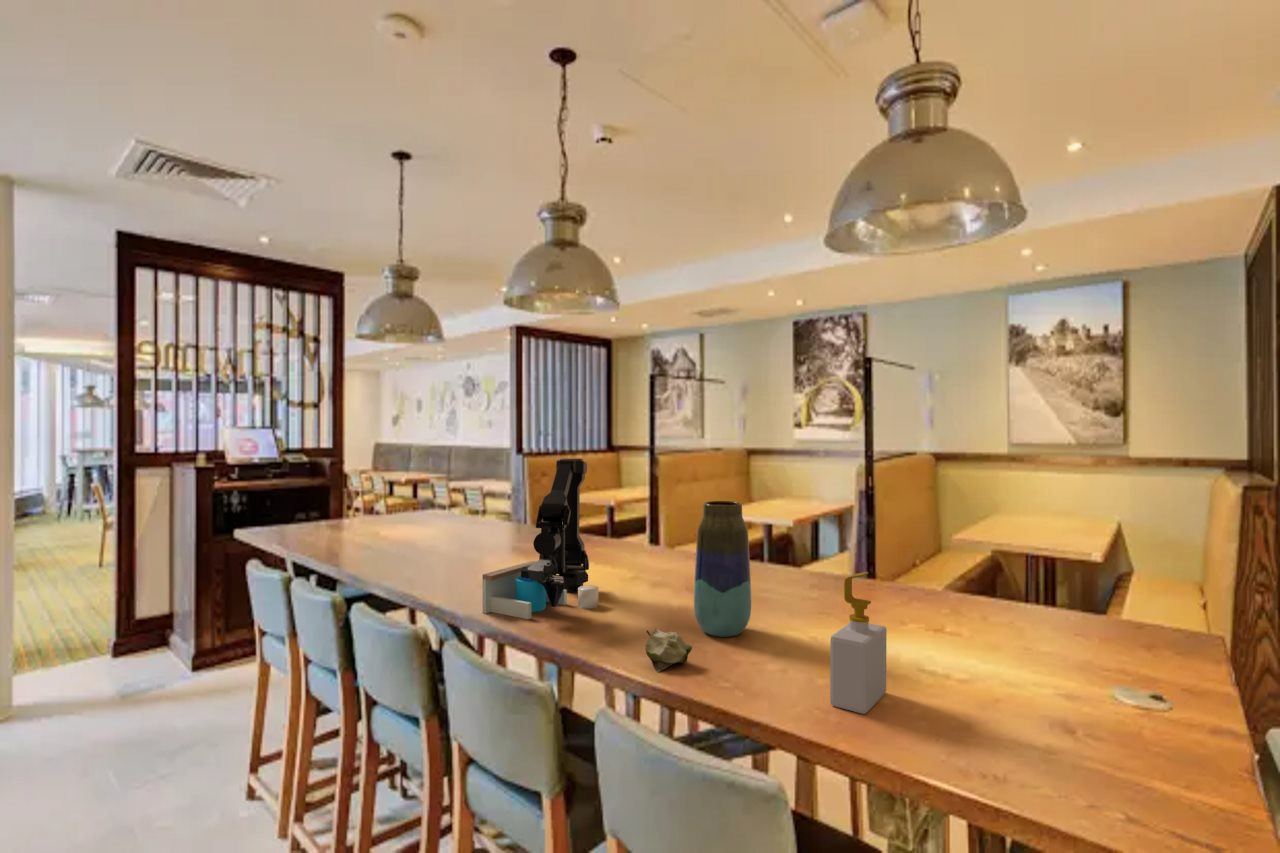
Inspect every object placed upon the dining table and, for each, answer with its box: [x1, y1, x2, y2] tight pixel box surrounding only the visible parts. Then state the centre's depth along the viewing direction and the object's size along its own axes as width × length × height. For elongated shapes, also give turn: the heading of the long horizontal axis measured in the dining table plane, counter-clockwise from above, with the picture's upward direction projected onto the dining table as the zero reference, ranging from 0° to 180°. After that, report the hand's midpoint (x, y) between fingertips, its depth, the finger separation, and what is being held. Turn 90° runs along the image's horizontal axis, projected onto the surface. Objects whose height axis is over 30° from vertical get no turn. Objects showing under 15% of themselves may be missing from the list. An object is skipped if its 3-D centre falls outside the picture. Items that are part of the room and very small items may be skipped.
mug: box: [516, 576, 547, 613], centre depth 181 cm, size 12×8×8 cm
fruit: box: [645, 628, 693, 673], centre depth 138 cm, size 9×9×8 cm
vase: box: [693, 500, 752, 638], centre depth 159 cm, size 14×14×31 cm
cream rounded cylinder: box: [577, 584, 599, 610], centre depth 181 cm, size 6×6×5 cm
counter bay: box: [482, 560, 568, 620], centre depth 179 cm, size 20×14×10 cm
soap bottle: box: [829, 571, 887, 715], centre depth 120 cm, size 12×7×23 cm, turn 143°
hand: (554, 606), depth 175 cm, fingers closed
